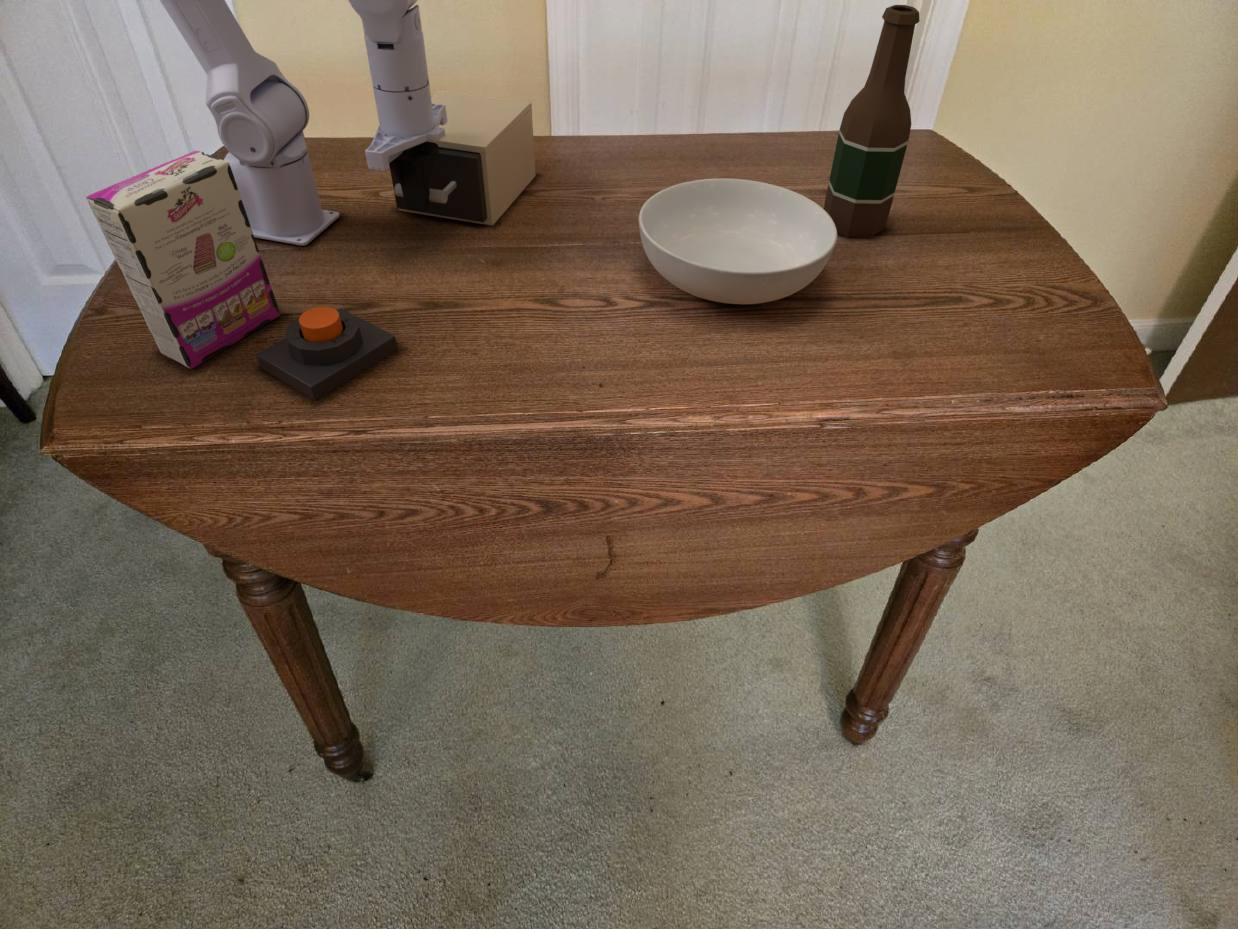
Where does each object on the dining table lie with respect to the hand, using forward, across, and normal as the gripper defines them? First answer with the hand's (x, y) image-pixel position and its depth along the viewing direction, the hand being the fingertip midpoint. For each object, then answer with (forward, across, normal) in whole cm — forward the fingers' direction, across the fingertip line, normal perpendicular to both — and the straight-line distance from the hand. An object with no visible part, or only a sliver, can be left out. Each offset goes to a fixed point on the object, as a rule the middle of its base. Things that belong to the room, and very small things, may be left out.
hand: (419, 208), depth 93 cm
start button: (+1, -24, -2) cm, 24 cm away
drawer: (+3, +9, 0) cm, 9 cm away
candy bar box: (+5, -24, +10) cm, 26 cm away
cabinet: (+4, +13, 0) cm, 13 cm away
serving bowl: (+4, +3, -36) cm, 36 cm away
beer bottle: (+4, +20, -48) cm, 52 cm away
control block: (+4, -24, -2) cm, 25 cm away
